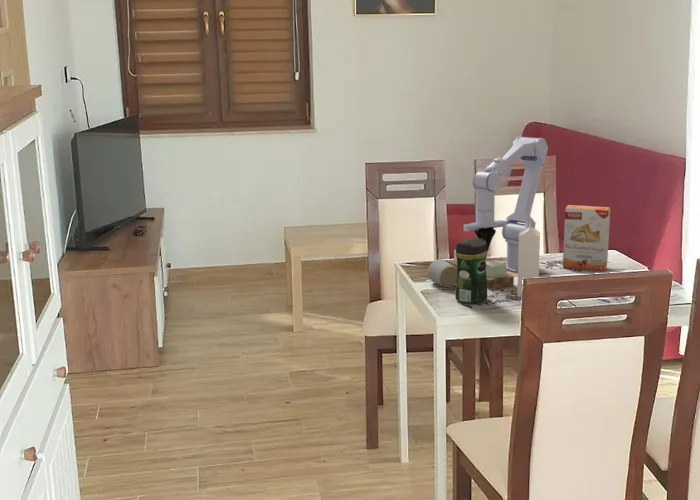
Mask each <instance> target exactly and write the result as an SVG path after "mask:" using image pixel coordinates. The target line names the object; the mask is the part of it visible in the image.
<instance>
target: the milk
mask: <svg viewBox="0 0 700 500" xmlns="http://www.w3.org/2000/svg"><path fill="white" fill-rule="evenodd" d="M540 245H541V232H540V231H538V230H537V229H536V228H535V229H534V228H532V227H531V226H530V224H529V227H528V228H526V229H524V230H522V231H520V234H519V250H518V272H517V295H516V296H517V298H522V297H521V291H522V280H523V278H533V277H540V275H539V274H540V249H541V248H540V247H541V246H540Z"/></svg>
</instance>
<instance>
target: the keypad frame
mask: <svg viewBox="0 0 700 500" xmlns="http://www.w3.org/2000/svg"><path fill="white" fill-rule="evenodd" d="M446 262H448V263H449V264H451V265H453V266H454V267H455V268H456V269H457V262H455V261H454V259H448V260H446ZM486 279H487V290H495V289H502V288H507V287H514V285H515V275H514V276H513V275H511V274H508V273H507V272H506V277H499V278H490V277H488V276H486Z"/></svg>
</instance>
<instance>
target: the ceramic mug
mask: <svg viewBox="0 0 700 500" xmlns="http://www.w3.org/2000/svg"><path fill="white" fill-rule="evenodd" d="M427 275H428V276H427V277H428V278H429V280H430V281H432V282H433V283H435V284H437V285H440V286H441V287H443V288H444V287H445V288H451V287H454V286H456V280H457V269H456V268H455V267H454V266H453V265H451V264H449V263H448V262H447V260H444V259H441V258H440V259H435V260H434V261H432V262H431V263H430V265H429V267H428V268H427Z"/></svg>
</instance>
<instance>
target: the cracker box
mask: <svg viewBox="0 0 700 500" xmlns="http://www.w3.org/2000/svg"><path fill="white" fill-rule="evenodd" d="M564 212H565V213H564V227H563V228H564V229H563V231H564V233H563V249H562V250H563V252H562V253H563V254H562V255H563V256H562V268H563V269H572V270H583V271H585V270H586V271H597V272H606V270H607V268H608V260H609V259H608V257H609V242H610V241H609V239H610V238H609V237H610V225H611V223H610V222H611V221H610V220H611V207H609V206H595V205H594V206H590V205H577V204H576V205H574V204H572V205H571V204H568V205H566V207H565V211H564Z"/></svg>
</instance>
